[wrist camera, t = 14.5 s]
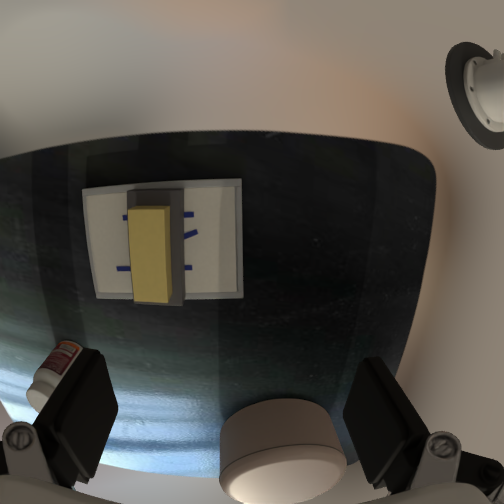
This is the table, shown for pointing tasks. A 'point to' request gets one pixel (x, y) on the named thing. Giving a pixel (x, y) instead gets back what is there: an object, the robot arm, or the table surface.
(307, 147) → the table surface
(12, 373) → the table surface
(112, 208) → the whiteboard
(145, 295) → the eraser
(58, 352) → the pill bottle
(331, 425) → the container
